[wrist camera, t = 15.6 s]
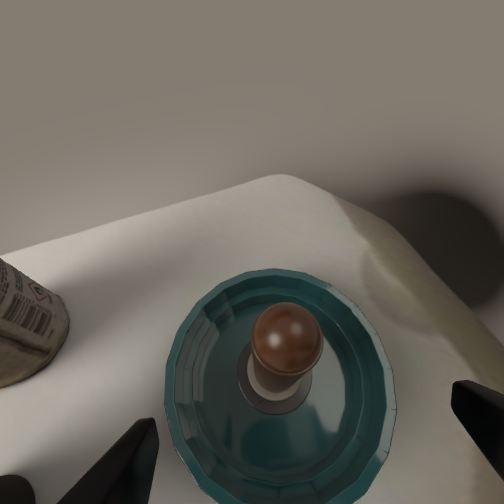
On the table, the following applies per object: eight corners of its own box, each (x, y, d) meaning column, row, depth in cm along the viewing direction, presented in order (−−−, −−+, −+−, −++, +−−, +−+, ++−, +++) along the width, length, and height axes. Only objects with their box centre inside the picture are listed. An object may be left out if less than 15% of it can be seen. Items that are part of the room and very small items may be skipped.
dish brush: (273, 433, 17) (300, 466, 6) (226, 375, 19) (184, 325, 8) (318, 377, 18) (399, 327, 8) (271, 329, 20) (284, 239, 10)
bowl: (278, 570, 14) (286, 629, 10) (148, 373, 19) (121, 363, 15) (402, 378, 19) (439, 370, 15) (271, 266, 24) (273, 238, 20)
